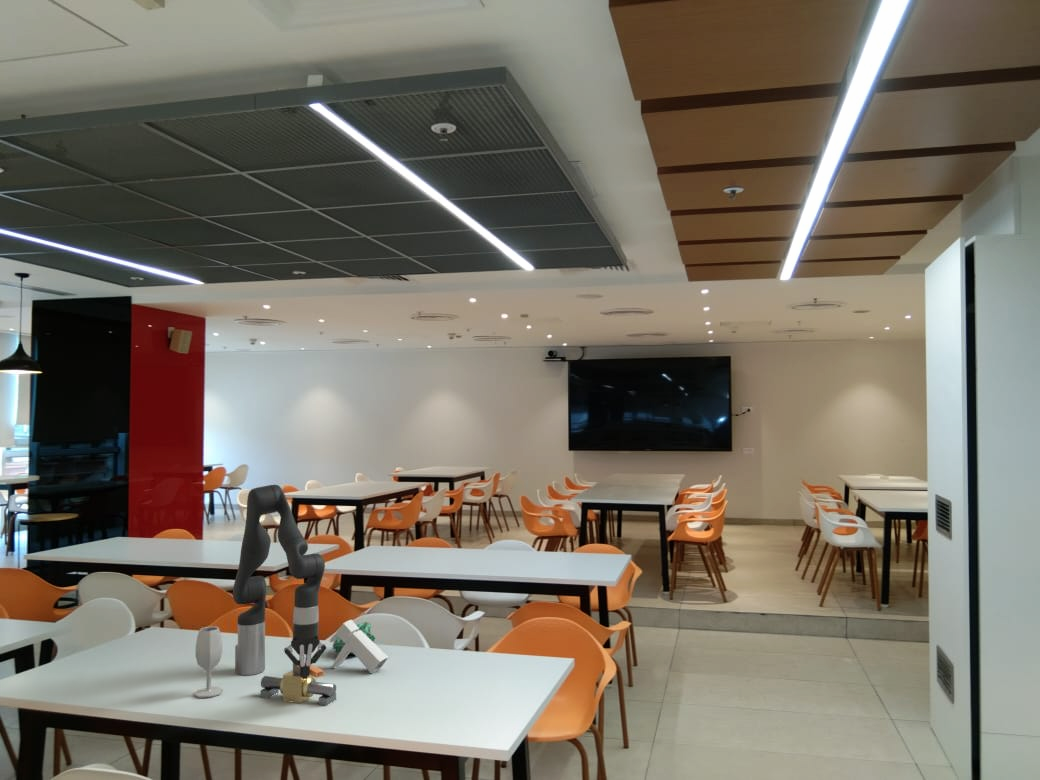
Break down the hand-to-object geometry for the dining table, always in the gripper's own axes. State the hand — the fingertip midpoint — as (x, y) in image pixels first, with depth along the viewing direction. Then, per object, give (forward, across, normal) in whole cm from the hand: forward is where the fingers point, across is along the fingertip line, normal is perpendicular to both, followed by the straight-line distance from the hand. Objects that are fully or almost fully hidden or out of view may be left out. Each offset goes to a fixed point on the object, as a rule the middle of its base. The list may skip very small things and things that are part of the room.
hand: (304, 677), depth 228 cm
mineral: (+10, +25, +54) cm, 60 cm away
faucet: (+10, +23, +32) cm, 41 cm away
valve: (+10, 0, +12) cm, 15 cm away
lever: (+2, +2, +5) cm, 6 cm away
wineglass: (+11, -27, +29) cm, 41 cm away
